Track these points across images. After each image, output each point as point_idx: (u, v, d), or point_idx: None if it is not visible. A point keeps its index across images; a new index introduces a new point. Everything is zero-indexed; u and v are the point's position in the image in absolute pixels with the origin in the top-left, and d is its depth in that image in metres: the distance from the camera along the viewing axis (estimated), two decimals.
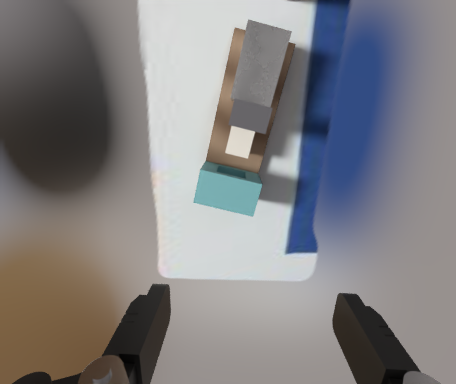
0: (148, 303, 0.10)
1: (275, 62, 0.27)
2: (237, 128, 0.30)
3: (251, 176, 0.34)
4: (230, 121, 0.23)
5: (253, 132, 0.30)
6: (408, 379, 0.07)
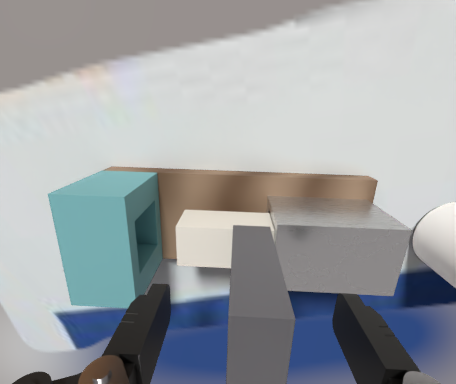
0: (148, 303, 0.10)
1: (345, 283, 0.16)
2: (225, 239, 0.16)
3: (150, 266, 0.19)
4: (237, 319, 0.09)
5: (224, 265, 0.17)
6: (407, 379, 0.07)
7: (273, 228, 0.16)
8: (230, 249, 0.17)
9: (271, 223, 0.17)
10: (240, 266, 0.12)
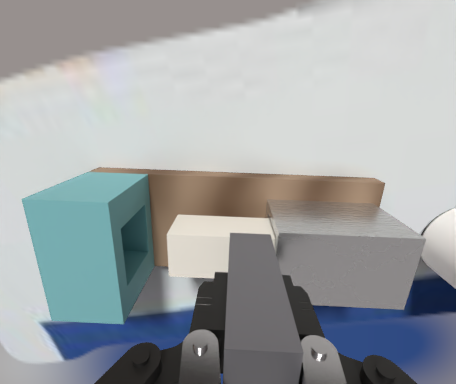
0: (218, 288, 0.11)
1: (351, 296, 0.15)
2: (221, 248, 0.15)
3: (140, 276, 0.18)
4: (235, 352, 0.07)
5: None
6: (303, 347, 0.08)
7: (274, 236, 0.15)
8: (227, 259, 0.15)
9: (271, 230, 0.16)
10: (238, 283, 0.10)
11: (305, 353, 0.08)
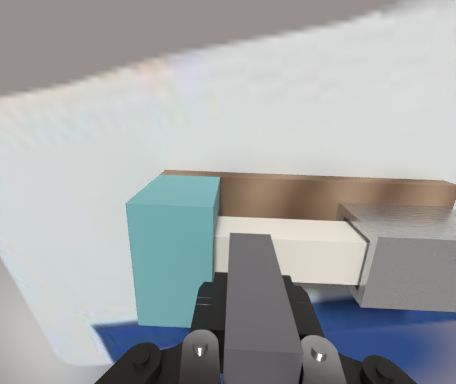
0: (218, 288, 0.11)
1: (444, 300, 0.15)
2: (221, 248, 0.15)
3: None
4: (235, 352, 0.07)
5: None
6: (303, 347, 0.08)
7: (274, 236, 0.15)
8: (227, 259, 0.15)
9: (271, 230, 0.16)
10: (238, 283, 0.10)
11: (305, 353, 0.08)
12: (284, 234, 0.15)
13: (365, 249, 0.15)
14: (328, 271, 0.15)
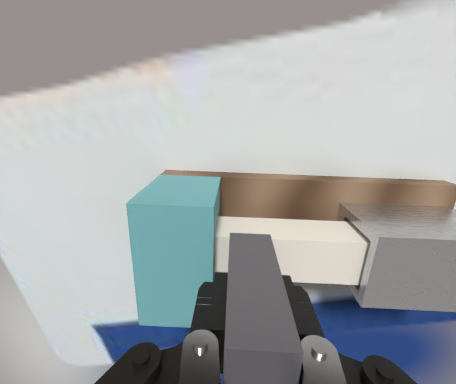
0: (218, 288, 0.11)
1: (444, 300, 0.15)
2: (221, 248, 0.15)
3: None
4: (235, 352, 0.07)
5: None
6: (303, 347, 0.08)
7: (274, 236, 0.15)
8: (227, 259, 0.15)
9: (271, 230, 0.16)
10: (238, 283, 0.10)
11: (305, 353, 0.08)
12: (284, 234, 0.15)
13: (365, 249, 0.15)
14: (328, 271, 0.15)
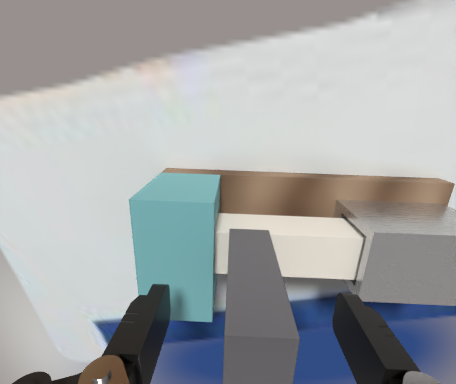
0: (148, 303, 0.10)
1: (438, 294, 0.15)
2: (221, 243, 0.15)
3: None
4: (235, 338, 0.08)
5: (220, 271, 0.16)
6: (408, 379, 0.07)
7: (272, 231, 0.15)
8: (226, 254, 0.15)
9: (270, 226, 0.16)
10: (237, 275, 0.11)
11: None
12: (282, 230, 0.16)
13: (361, 244, 0.15)
14: (325, 266, 0.16)
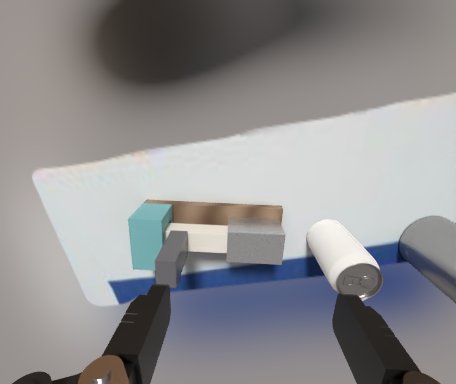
0: (148, 303, 0.10)
1: (259, 258, 0.35)
2: (167, 236, 0.35)
3: None
4: (157, 261, 0.28)
5: None
6: (408, 379, 0.07)
7: (190, 231, 0.35)
8: None
9: (190, 229, 0.36)
10: (165, 246, 0.31)
11: None
12: (195, 231, 0.36)
13: None
14: (213, 247, 0.36)
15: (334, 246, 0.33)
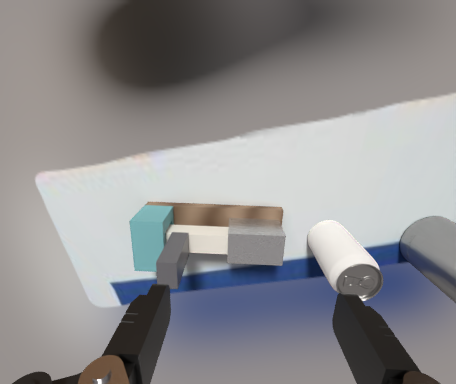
0: (148, 303, 0.10)
1: (260, 259, 0.35)
2: (169, 238, 0.36)
3: None
4: (158, 263, 0.28)
5: None
6: (407, 379, 0.07)
7: (191, 233, 0.36)
8: None
9: (191, 231, 0.37)
10: (166, 248, 0.31)
11: None
12: (196, 232, 0.36)
13: None
14: (214, 248, 0.36)
15: (334, 247, 0.33)
